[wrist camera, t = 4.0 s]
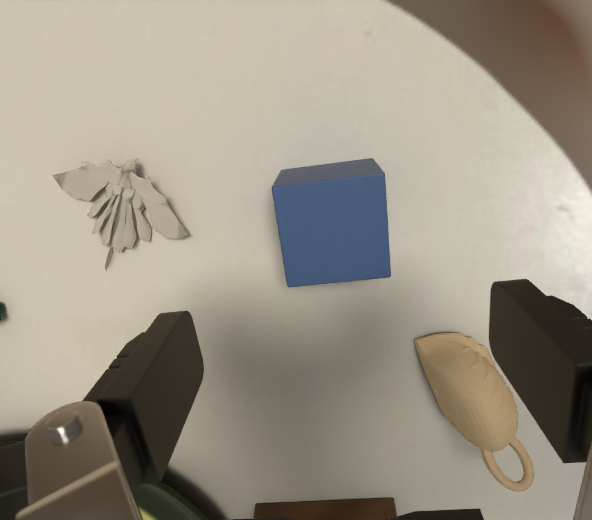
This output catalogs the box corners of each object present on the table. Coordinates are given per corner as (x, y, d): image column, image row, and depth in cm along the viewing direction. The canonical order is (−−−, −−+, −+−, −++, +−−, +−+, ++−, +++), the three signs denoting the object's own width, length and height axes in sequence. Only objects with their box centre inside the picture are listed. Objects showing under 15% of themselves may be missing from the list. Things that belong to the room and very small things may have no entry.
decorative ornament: (478, 315, 25) (516, 370, 20) (508, 418, 28) (549, 488, 23) (412, 336, 26) (434, 393, 21) (448, 433, 29) (475, 504, 24)
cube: (373, 157, 22) (385, 172, 18) (379, 245, 24) (391, 277, 20) (280, 169, 23) (271, 186, 18) (293, 255, 24) (287, 287, 20)
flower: (175, 285, 27) (158, 311, 24) (55, 235, 26) (25, 257, 24) (209, 185, 23) (192, 204, 21) (69, 122, 22) (35, 134, 20)
